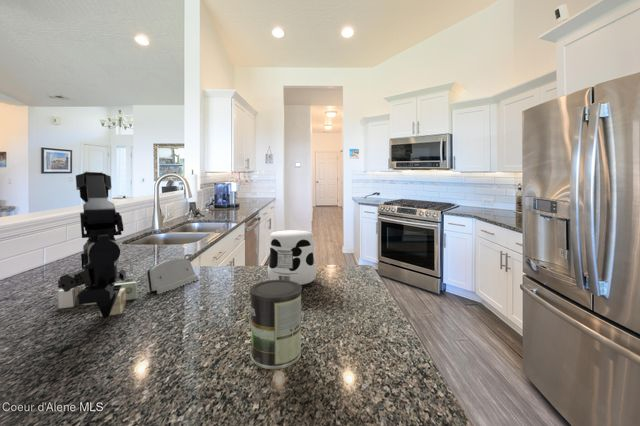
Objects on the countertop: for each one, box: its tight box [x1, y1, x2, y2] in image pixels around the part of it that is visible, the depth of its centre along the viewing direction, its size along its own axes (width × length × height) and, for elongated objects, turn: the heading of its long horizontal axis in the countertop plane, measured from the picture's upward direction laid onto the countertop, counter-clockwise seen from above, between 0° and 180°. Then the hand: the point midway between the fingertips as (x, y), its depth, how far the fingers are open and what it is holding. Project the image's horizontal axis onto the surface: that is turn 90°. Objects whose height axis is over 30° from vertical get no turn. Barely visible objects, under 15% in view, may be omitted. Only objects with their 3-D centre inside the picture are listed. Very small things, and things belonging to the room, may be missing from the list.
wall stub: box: [57, 288, 76, 310], centre depth 84 cm, size 2×3×5 cm, turn 114°
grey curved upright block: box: [145, 258, 200, 295], centre depth 102 cm, size 17×5×10 cm, turn 154°
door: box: [82, 280, 138, 306], centre depth 87 cm, size 3×13×5 cm, turn 114°
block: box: [99, 288, 127, 318], centre depth 81 cm, size 7×4×5 cm, turn 24°
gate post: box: [74, 285, 84, 307], centre depth 85 cm, size 2×2×6 cm
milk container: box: [267, 229, 317, 287], centre depth 104 cm, size 17×17×18 cm
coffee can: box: [249, 279, 303, 370], centre depth 59 cm, size 10×10×14 cm
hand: (106, 317), depth 75 cm, fingers closed
